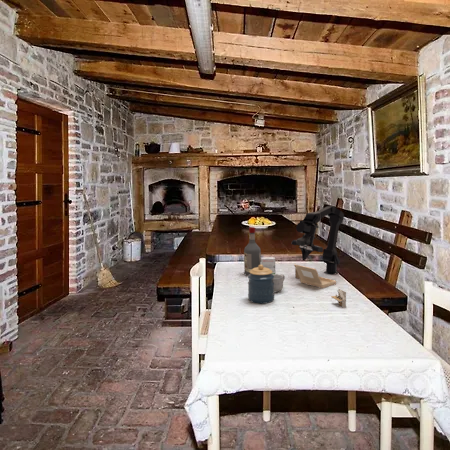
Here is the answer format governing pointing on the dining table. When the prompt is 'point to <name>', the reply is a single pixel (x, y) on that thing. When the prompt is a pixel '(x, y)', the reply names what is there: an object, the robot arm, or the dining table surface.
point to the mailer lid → (308, 274)
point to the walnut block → (296, 274)
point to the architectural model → (340, 297)
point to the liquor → (251, 253)
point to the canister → (261, 285)
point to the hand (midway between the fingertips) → (303, 260)
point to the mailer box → (324, 284)
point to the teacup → (278, 282)
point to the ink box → (269, 263)
